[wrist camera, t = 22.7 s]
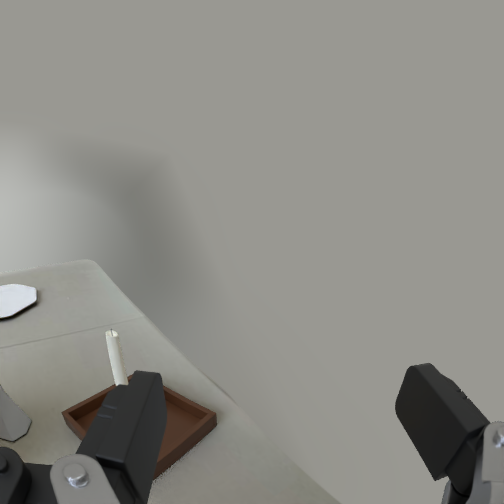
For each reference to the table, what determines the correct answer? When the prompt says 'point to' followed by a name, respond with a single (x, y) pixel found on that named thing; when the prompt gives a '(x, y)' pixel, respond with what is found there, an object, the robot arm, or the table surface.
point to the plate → (15, 299)
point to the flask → (11, 418)
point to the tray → (177, 428)
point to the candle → (116, 358)
